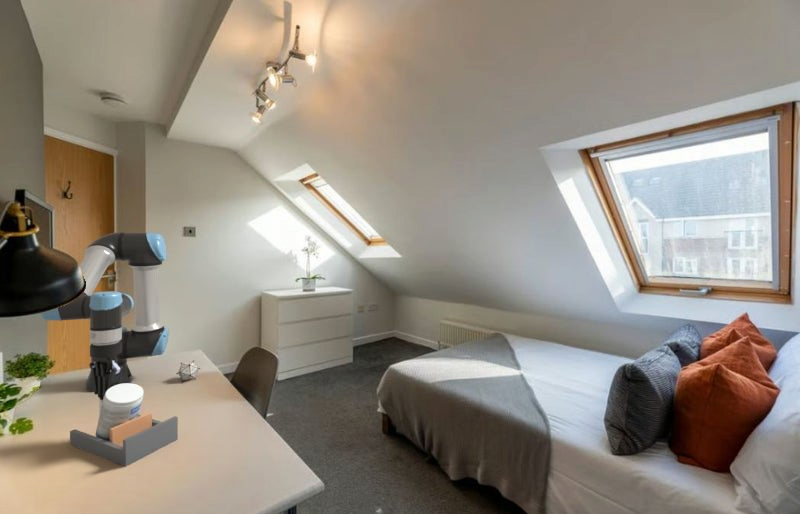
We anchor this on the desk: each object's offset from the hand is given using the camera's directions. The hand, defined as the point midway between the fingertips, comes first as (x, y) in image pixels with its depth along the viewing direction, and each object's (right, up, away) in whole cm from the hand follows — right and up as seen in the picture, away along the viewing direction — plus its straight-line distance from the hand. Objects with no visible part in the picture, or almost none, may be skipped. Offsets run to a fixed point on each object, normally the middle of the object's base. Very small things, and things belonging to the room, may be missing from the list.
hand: (105, 417), depth 108 cm
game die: (-3, -5, +46) cm, 47 cm away
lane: (+7, -6, -2) cm, 10 cm away
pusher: (+13, -6, -4) cm, 15 cm away
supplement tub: (+4, -4, -1) cm, 6 cm away
